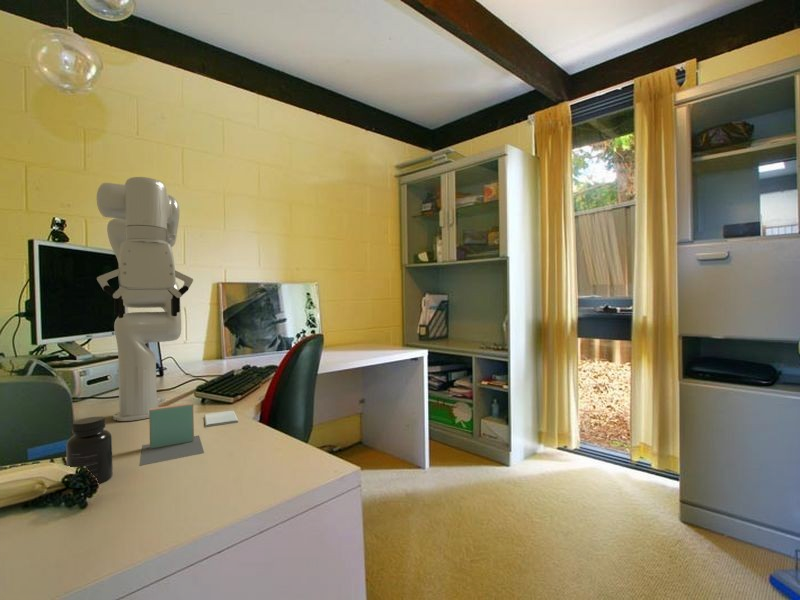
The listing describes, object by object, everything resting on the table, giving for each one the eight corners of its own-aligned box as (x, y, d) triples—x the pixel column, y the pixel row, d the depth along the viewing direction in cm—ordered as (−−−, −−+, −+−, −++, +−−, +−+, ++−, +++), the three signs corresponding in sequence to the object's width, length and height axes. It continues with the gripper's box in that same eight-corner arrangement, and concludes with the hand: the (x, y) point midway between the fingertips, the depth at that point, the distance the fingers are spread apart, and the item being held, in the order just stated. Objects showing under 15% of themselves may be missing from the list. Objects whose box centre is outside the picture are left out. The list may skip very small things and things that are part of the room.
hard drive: (238, 420, 109) (233, 409, 120) (205, 424, 106) (204, 413, 116) (238, 426, 109) (233, 415, 120) (205, 430, 105) (204, 419, 116)
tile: (150, 446, 92) (149, 408, 92) (193, 439, 96) (192, 402, 96) (149, 449, 90) (149, 410, 90) (194, 441, 95) (193, 404, 95)
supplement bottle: (74, 479, 76) (73, 417, 76) (117, 472, 79) (116, 412, 79) (60, 494, 70) (59, 427, 70) (107, 486, 72) (105, 422, 73)
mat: (142, 446, 93) (142, 445, 93) (199, 436, 99) (199, 435, 99) (139, 467, 81) (139, 465, 81) (204, 454, 87) (204, 452, 87)
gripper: (188, 242, 92) (190, 315, 92) (96, 236, 82) (97, 318, 81) (195, 238, 86) (196, 315, 86) (95, 230, 76) (97, 319, 76)
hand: (148, 316), depth 84 cm, fingers open, 9 cm apart
